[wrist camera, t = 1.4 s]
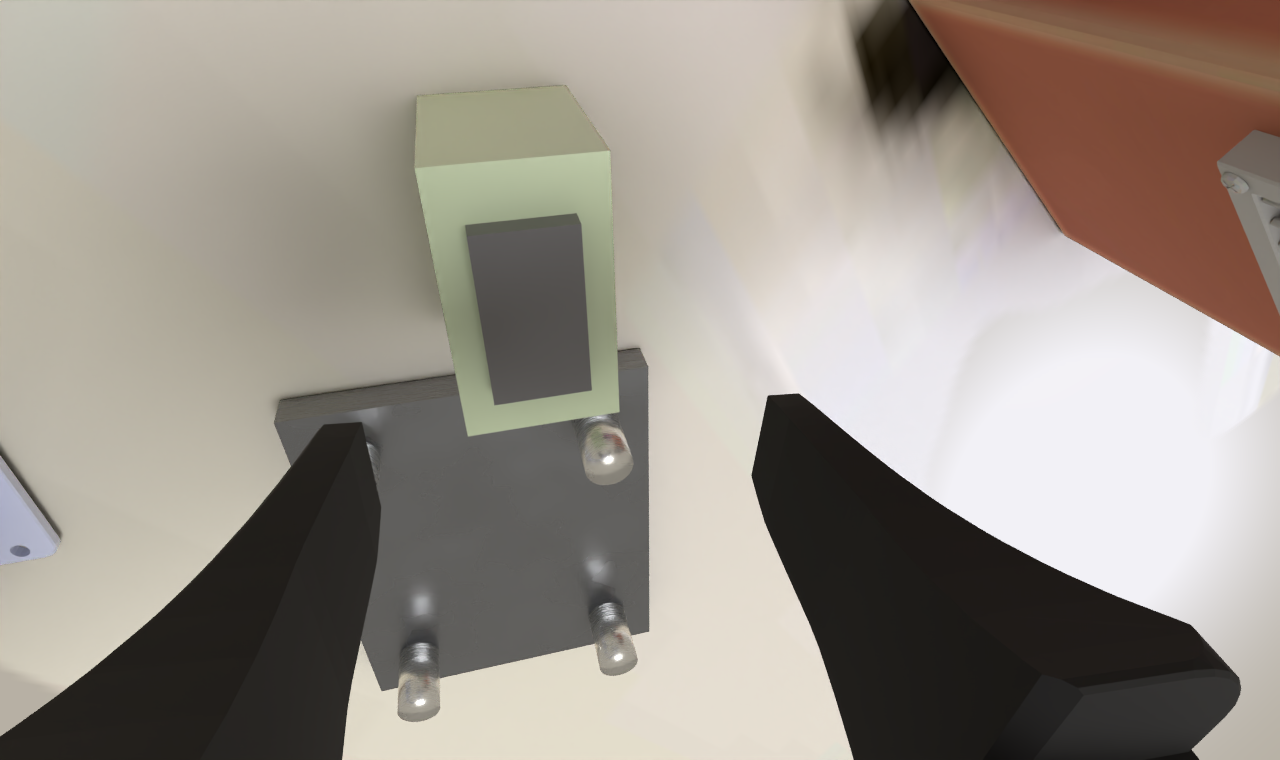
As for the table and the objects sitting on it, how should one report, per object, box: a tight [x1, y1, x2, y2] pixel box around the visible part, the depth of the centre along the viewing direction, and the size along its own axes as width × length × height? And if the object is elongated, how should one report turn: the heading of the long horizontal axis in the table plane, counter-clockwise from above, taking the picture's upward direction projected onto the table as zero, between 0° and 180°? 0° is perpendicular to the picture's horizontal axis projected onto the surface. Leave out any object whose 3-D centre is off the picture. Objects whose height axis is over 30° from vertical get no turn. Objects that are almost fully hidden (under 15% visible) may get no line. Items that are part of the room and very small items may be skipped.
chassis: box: [274, 348, 649, 722], centre depth 27 cm, size 12×15×4 cm
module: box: [414, 85, 619, 436], centre depth 19 cm, size 4×7×7 cm, turn 0°
